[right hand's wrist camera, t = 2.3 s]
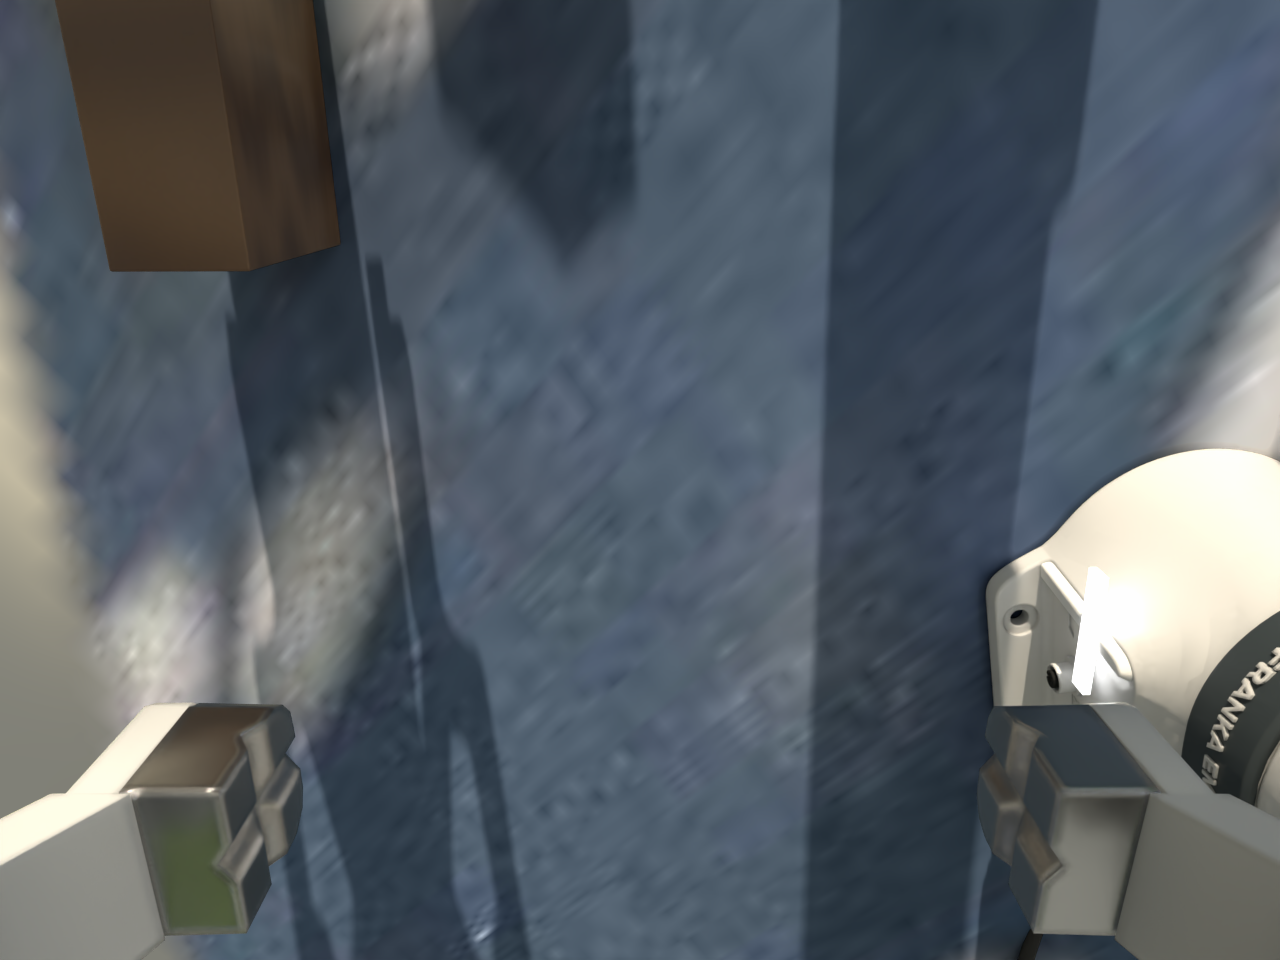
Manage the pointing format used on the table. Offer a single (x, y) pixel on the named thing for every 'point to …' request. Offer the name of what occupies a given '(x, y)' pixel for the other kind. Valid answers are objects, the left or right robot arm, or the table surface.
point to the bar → (202, 130)
